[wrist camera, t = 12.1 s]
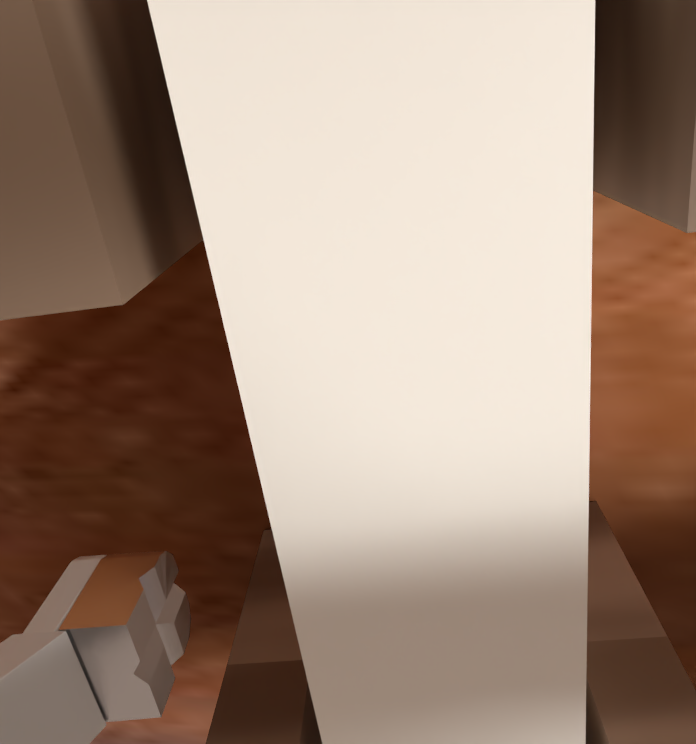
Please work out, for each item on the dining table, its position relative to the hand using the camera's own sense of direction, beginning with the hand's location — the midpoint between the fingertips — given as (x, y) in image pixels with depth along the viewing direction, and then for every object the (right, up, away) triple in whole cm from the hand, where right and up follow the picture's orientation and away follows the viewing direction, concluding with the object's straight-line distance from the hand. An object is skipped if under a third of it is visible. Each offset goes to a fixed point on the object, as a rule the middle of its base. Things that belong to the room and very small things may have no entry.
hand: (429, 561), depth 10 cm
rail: (0, +1, +3) cm, 3 cm away
